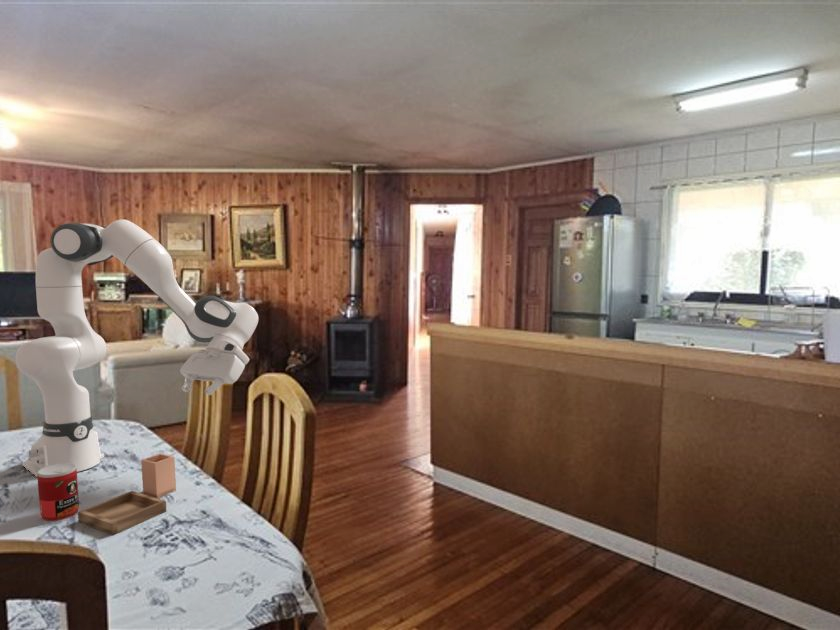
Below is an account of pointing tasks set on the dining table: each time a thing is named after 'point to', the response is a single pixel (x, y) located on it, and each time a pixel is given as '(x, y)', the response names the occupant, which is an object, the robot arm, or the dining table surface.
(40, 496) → the canned food
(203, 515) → the dining table surface
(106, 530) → the tray
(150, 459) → the open rectangular container
